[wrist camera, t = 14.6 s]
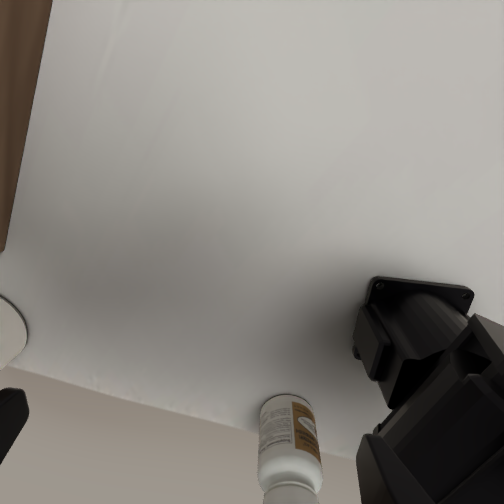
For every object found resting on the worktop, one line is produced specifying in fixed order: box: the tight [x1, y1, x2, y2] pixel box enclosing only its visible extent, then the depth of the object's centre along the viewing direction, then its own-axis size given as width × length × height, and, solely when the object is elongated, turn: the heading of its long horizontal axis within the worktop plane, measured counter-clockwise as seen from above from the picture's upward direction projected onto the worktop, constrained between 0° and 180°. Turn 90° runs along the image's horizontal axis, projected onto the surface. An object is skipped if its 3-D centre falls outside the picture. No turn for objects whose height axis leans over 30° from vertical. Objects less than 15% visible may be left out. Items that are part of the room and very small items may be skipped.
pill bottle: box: [258, 395, 323, 504], centre depth 22 cm, size 4×4×8 cm
